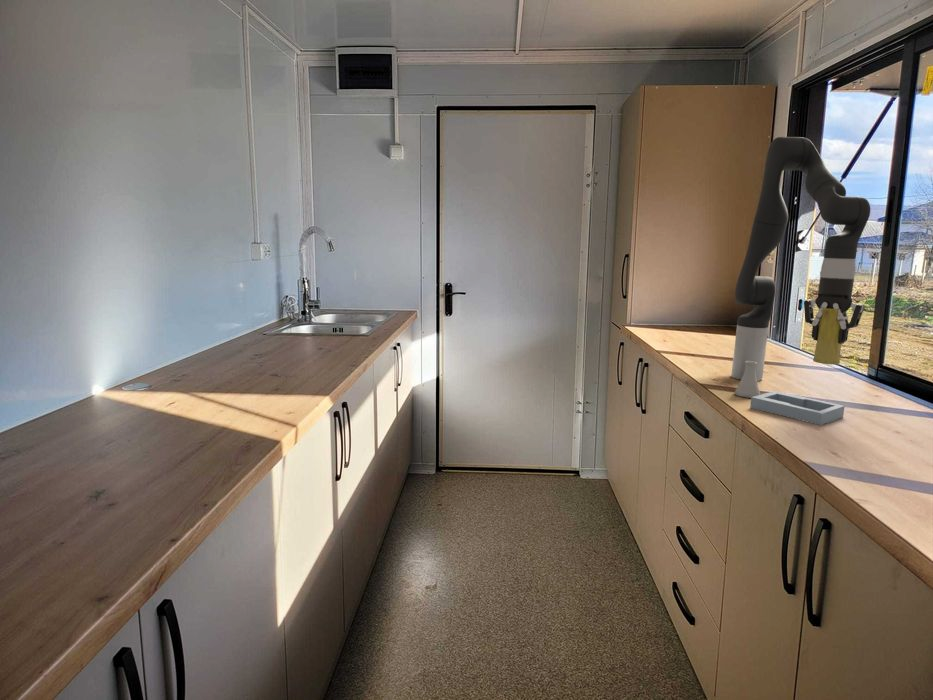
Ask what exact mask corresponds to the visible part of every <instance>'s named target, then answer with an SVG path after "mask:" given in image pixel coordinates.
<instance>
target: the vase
mask: <svg viewBox="0 0 933 700" xmlns="http://www.w3.org/2000/svg"><path fill="white" fill-rule="evenodd" d="M838 311H839V310H838V309H828V308H823V309H822V316H821V318H820V323H819V330H818V337H817V341H816V345H815V349H814V355H813V358H812V359H813V360H812V361H813V362H815V363H817V364H823V365H831V366H832V365H839V364H841V362H840V361H841V349H842V344H839V343H838V340H839V333H840V329H841V326H840V323H839V321H838V319H837V317H838V313H839V312H838ZM842 315H843V317H844V314H842ZM839 316H840V315H839Z"/></svg>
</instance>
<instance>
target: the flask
mask: <svg viewBox="0 0 933 700" xmlns="http://www.w3.org/2000/svg"><path fill="white" fill-rule="evenodd" d="M745 364H746V368H745V372H744V375H743V377H742V379H741V380H740V381H739V384H738V386H737V387H736V389H735V391H734V395H736V396H738V397H742V398H749V399H751V397H754V396H758V395H761V392H760V388H759V384H758V381H757V379H756V373H755V367H756V365H757V362H753V361H745Z"/></svg>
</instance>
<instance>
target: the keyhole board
mask: <svg viewBox="0 0 933 700" xmlns="http://www.w3.org/2000/svg"><path fill="white" fill-rule="evenodd" d="M750 409H753V410H757V411H760V412H761V411H762V412H765V411H766V413H769V412H770V414H773V413H775V414H774V415H777V414H780V415H779V416H781V415H784V416H783V417H785V416H788V417H787V418H789V417H791V418H790V419H793V418H796V419H795V420H797V419H800V420H799V421H801V420H804V421H803V422H805V421H808V422H807V423H809V422H812V423H811V424H813V423H816V424H815V425H818V424H820V425H819V426H822V424H823V425H826V424H828V423H831V422H833V421H834V422H835V421H836V420H839V419H841V418H844V415H845V414H844V413H845V405H842V404H838V403H834V402H828V401H823V400H820V399H814V398H809V397H806V396H800V395H795V394H791V393H786V392H782V391H779V390H772V391H770V392H765V393H762V394H761V393H760V395H758V396H754V397H751V398H750ZM825 423H826V424H825Z"/></svg>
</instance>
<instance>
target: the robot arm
mask: <svg viewBox="0 0 933 700" xmlns="http://www.w3.org/2000/svg"><path fill="white" fill-rule="evenodd" d="M764 164H765V166H764V170H763V171H764V172H763V178H762V186H761V191H760V196H759V199H758V204H757V208H756V211H755V215H754V218H753V222H752V227H751V232H750V237H749V241H748V245H747V249H746V253H745V257H744V260H743V263H742V266H741V269H740V272H739V275H738V278H737V281H736V284H735V288H734V289H735V290H734V297H735V298H734V299H735V301H736V302H737V304H740V305H744V306H745V305H746V306H748V305H749V306H754V308H753V310H751V311H750V312H747V313H744V314H741V315H739V316H738V318H737V320H736V331H735V340H734V349H733V358H732V367H731V374H730V375H731V376H730V377H731V378H733V379H737V380H740V381H741V379H742V377H743V375H744V372H745V368H746V364H745V361H753V362H757V365H756V367H755V373H756V379H757V382H760V381H762V380H763V376H764V369H765V359H766V352H767V351H766V350H767V343H768V342H767V341H768V333H769V326H770V321H771V318H772V314H773V309H774V308H773V307H774V302H775V296H776V282H775V280H774V278H772V277H771V276H763V275H757V272H758V270H759V268H760V267H761V265H762V263H763V262H764V261H765V260H766V258H767V257H768V256H770V254H771V253H772V252H773V251H774V250H775V249H776V248H777V247H778V246H779V245H780V243H781V242H782V240H783V239H784V237H785V236H784V235H785V233H786V229H787V225H788V222H789V212H788V211H789V210H788V208H787V205H786V203H785V200H784V198H783V195H782V190H781V180H782V175H783V172H784V171H787V172H789V171H790V172H791V171H793V172H794V171H801V172H802V173H804V174H805V175H806V177H805V181H804V185H805V189H806V191H807V193H808V194H809V196H810V197H811V198H812V199H813V200H814V201H815V202H816V204H817V207H818V210H819V214H820V217H821V219H822V220H823V222H825V223H827V224H829V225H837V226H840V225H841V226H844V227H843V229H842V230H841V232H840V233H837V234H832V235H829V236H828V237H827V238H826V240H825V244H824V245H825V246H824V253H823V259H822V264H821V267H820V271H819V282H818V283H819V284H818V289H817V291H818V292H817V296H816V298H815V299H807V300H804V301H803V308H804V320H805V323H806V324H809V325H811V326H812V328H811V329H812V330H811V338H812V339H813V341H816V342H817V337H818V330H819V323H820V318H821V316H822V309H823V308H828V309H838V310H839V311H838V312H839V313H838V317H837V319H838V321H839V323H840V326H841V329H840V333H839V340H838V343H839V344H841V345H843V344H845V342H847V341H848V337H849V330H850V329H852V328H853V329H854V328H857V327H858V326H859V324H860V321H861V318H862V316H863V313H864V310H865V308H866V307H865V305H864V304H858V303H855V302H853V300H852V296H853V289H854V288H853V287H854V283H855V282H854V281H855V274H856V261H857V260H856V259H857V258H856V257H857V252H858V244H859V242H860V239H861V237H862V234H863V233H864V229H865V227H866V226H867V223H868V221H869V218H870V216H871V204H870V202H869V201H868V199H867V198H866V197H864V196H852V195H851V196H849V195H847V189H846V187H845V185H844V184H843V183H842V182H841V181H840V180H838V178H837V177H836V176H835V175H833V173H832V172H831V171H830V170H829V169H828V166H827V165H826V164H825V162H824V160H823V158H822V156H821V154H820V153H819V151H818V150H817V148H816V146H815V145H814V143H813V142H812V140H810V139H809V138H807V137H802V136H778V137H775V138H774V139H773V140H772V141H771V143H770V145H769V147H768V149H767V153H766V159H765V163H764ZM815 306H817V308H818V311H817V313H816V315H815V316H814V308H815ZM849 309H851V312H852V316H851V318H850V320H849V316H848V312H847V311H848V310H849ZM842 314H844V317H843V315H842ZM839 315H840V316H839Z"/></svg>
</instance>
